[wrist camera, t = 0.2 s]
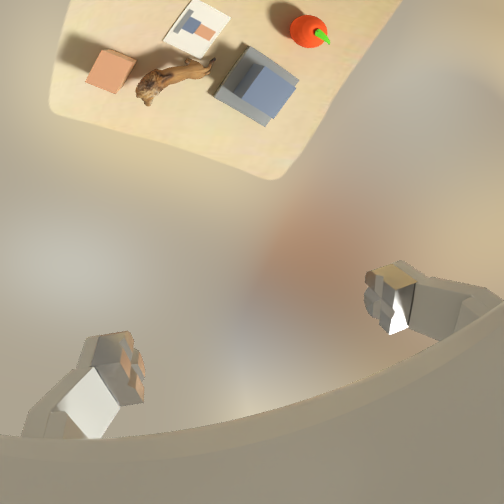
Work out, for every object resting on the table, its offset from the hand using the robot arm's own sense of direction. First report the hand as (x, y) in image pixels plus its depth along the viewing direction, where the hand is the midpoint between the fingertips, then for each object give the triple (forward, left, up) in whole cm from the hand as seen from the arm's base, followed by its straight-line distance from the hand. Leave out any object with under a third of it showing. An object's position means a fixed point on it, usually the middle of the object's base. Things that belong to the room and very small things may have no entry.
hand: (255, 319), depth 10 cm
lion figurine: (-2, -1, -52) cm, 52 cm away
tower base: (-8, +13, -51) cm, 54 cm away
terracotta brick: (+1, -12, -51) cm, 53 cm away
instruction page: (-12, -3, -51) cm, 53 cm away
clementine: (-23, +14, -52) cm, 58 cm away
